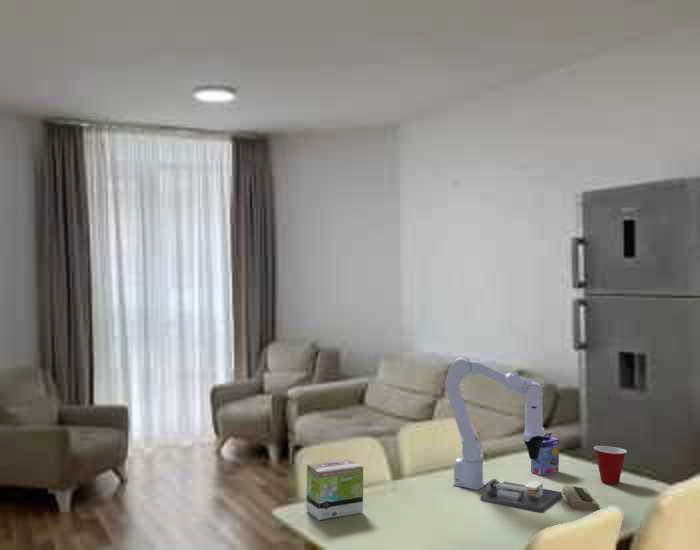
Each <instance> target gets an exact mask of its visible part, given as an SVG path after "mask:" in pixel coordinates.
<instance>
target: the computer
mask: <svg viewBox="0 0 700 550" xmlns="http://www.w3.org/2000/svg"><path fill="white" fill-rule="evenodd" d="M561 492H562V495H564V498H565V499H566V501H567V502H568V503H569V506H571V508H572V509H573V510H590V511H591V510H593V511H594V510H595V511H596V510H599V509H600V504H599V503H598V502H597V500H596V499H595V498H594V497H593V495H592V494H591V493H590V491H589V490H588V489H587V488H585V487H580V486H574V485H563V487H562V490H561Z"/></svg>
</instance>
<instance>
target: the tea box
mask: <svg viewBox="0 0 700 550" xmlns="http://www.w3.org/2000/svg"><path fill="white" fill-rule="evenodd" d="M305 507H306V511H307V512H308V513H309V514H310V515H312V516H313V517H314V518H315V519H317V520H318V521H323V520H327V519H331V518H332V519H333V518H338V517H344V516H351V515H352V516H353V515H357V513H359V514H362V513H363V512H364V466H362V465H361V464H359V463H357V462H355V461H353V460H351V459H349V458H347V459H341V460H340V459H339V460H334V461H333V460H332V461H326V462H318V463H309V464H306V506H305Z"/></svg>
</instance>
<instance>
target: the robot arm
mask: <svg viewBox="0 0 700 550" xmlns="http://www.w3.org/2000/svg"><path fill="white" fill-rule="evenodd" d="M469 374H470V376H475V375H481V376H485V377H487V378H489V379H492V380H494V381H497V382H500V383H501V384H502V386H503V388H505V389H506V390H508V391H511V392H513V393H516V394H518V395H519V396H525V404H524V418H525V419H524V433H523V434H522V441H523V442H524V443H525V446H526V449H527V453H528V455H529V459H530V460H531V459H535V460H536V459H537V458H538V456H539V452H540V448H541V445H542V442H543V440H544V436H545V435H546V434H547V432H546V431H545V427H543V424H544V423H543V412H544V411H543V410H544V409H543V396H544V392H543V387H542V385H540V383H538V382H537V381H536V380H532V379H531V378H525V377H523V376H520V375H519V373H518V372H516V371H515V372H514V373H513V372H507V373H504V372H503V371H500V370H498V369H496V368H494V367H492V366H490V365H487V364H485V363H483V362H481V361H479V360H477V359H474V358H469V357H467V356H464V355H460V356H458V357H456V358H455V360H453V362H452V363H451V365H450V366H449V368H448V372H447V375H446V378H445V381H444V388H445V391H446V394H447V395H446V396H447V398H448V401H449V403H450V407H451V410H452V414H453V416H454V420H455V422H456V426H457V429H458V433H459V436H460V440H461V441H460V442H461V446H462V449H461V454H462V456H461V457H457V458H456V459H455V461H454V463H453V484H452V485H453V486H456V487H461V488H466V489H472V490H477V491H478V490H480V489H482V488H484V487H485V486H487V482H486V481H484V472H483V471H484V469H483V468H484V463H483V462H484V461H483V460H484V459H483V458H484V457H482V456H481V454H482V449H483V445H482V442H481V440H480V439H479V438H478V437H477V435H476V432H475V430H474V429H473V428H474V427H473V425H472V422H471V419H470V415H469V411H468V410H467V409H468V408H467V407H466V404H465V401H464V400H465V399H464V397H463V394H462V391H461V388H460V385H461V383H462V382H463V380H464V379H465V378H467V377H468V376H469Z"/></svg>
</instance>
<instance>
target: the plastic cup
mask: <svg viewBox="0 0 700 550" xmlns="http://www.w3.org/2000/svg"><path fill="white" fill-rule="evenodd" d="M593 449H594V450H595V455H596V458H597V459H596V461H597V466H598V471H599V476H600V482H601V483H602V482H603V483H602V484H604V485H608V484H610V485H609V486H616V485H615V484H617V485H619V484H620V479H621V474H622V471H623V464H624V459H625V455H626V454H627V452H628V451H627V449H624V448H622V447H616V446H609V445H596V446H594V447H593ZM618 483H619V484H618Z"/></svg>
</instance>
